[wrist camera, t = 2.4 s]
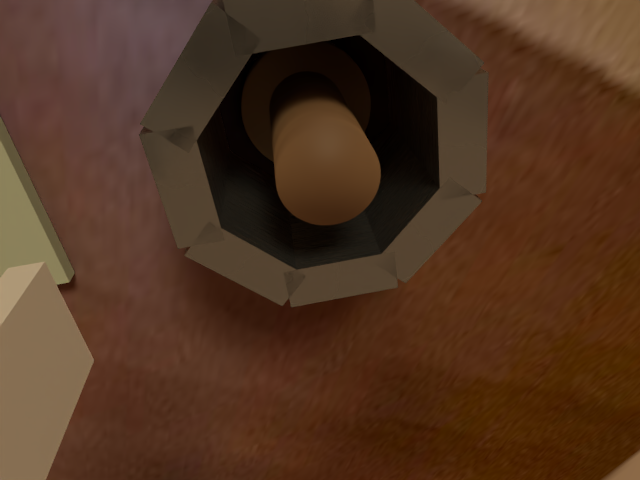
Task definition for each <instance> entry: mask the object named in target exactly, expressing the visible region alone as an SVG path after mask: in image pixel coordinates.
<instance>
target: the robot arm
mask: <svg viewBox="0 0 640 480" xmlns="http://www.w3.org/2000/svg"><path fill="white" fill-rule="evenodd" d="M93 362H94V359H93V357H92V355H91V353H90V351H89V349H88V347H87V345H86V343H85V341H84V339H83V337H82V335H81V333H80V331H79V329H78V327H77V325H76V323H75V321H74V319H73V317H72V315H71V313H70V311H69V309H68V307H67V305H66V303H65V301H64V299H63V297H62V295H61V293H60V291H59V289H58V287H57V285H56V283H55V281H54V279H53V277H52V275H51V273H50V271H49V269H48V267H47V265H46V263H45V262H39V263H33V264H28V265H22V266H17V267H11V268H8V269H7V270H6V271H5V272H4V274H3V275H2V276H1V277H0V480H46V478H47V475H48V473H49V470H50V468H51V465H52V463H53V460H54V458H55V455H56V453H57V450H58V448H59V446H60V443H61V441H62V438H63V436H64V433H65V431H66V428H67V426H68V423H69V421H70V418H71V416H72V413H73V411H74V409H75V406H76V404H77V401H78V399H79V396H80V394H81V391H82V389H83V386H84V384H85V381H86V379H87V376H88V374H89V372H90V369H91V367H92V364H93Z"/></svg>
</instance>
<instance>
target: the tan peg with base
mask: <svg viewBox="0 0 640 480" xmlns="http://www.w3.org/2000/svg"><path fill="white" fill-rule="evenodd" d="M241 111H242V119H243V123H244V126H245V130H246V132H247V134H248V136H249V138H250V140H251V141H252V143H253V144H254V145H255V147H256V148H257V149H258V150H259V151H260V152H261V153H262V154H263V155H264V156H265V157H267V158H268V159H269V160H271V161H273V162H274V169H275V180H276V188H277V192H278V195H279V197H280V199H281V201H282V203H283V204H284V206H285V207H286V208H287V209H288V210H289V211H290V212H291V213H292V214H293V215H294V216H296V217H297V218H299V219H301V220H303V221H305V222H308V223H311V224H315V225H335V224H339V223H343V222H346V221H348V220H350V219H352V218H354V217H356V216H357V215H359V214H360V213H361V212H363V211H364V210H365V209H366V208H367V207H368V206H369V204H370V203H371V202H372V200H373V199H374V197H375V195H376V193H377V190H378V188H379V184H380V177H381V169H380V163H379V160H378V157H377V155H376V153H375V151H374V149H373V147H372V146H371V144H370V142H369V140H368V139H367V137H366V135H365V133H364V132H365V130H366V128H367V125H368V122H369V118H370V111H371V97H370V91H369V87H368V84H367V81H366V79H365V77H364V75H363V73H362V71H361V70H360V68H359V67H358V65H357V64H356V63H355V62H354V61H353V59H352V58H351V57H350V56H349V55H348V54H347V53H346V52H345V51H344V50H343V49H341V48H340V47H338V46H337V45H335V44H333V43H331V42H329V41H322V42H316V43H310V44H305V45H299V46H293V47H288V48H282V49H276V50H270V51H265V52H263V53H262V54H261V55H260V56H259V57H258V58H257V60H256V61H255V62H254V64H253V65H252V67H251V68H250V70H249V72H248V74H247V76H246V79H245V82H244V86H243V91H242V102H241Z"/></svg>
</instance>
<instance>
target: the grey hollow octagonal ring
mask: <svg viewBox="0 0 640 480" xmlns="http://www.w3.org/2000/svg"><path fill="white" fill-rule="evenodd" d="M356 35H360V36H362V37H363V38H364V39H365V40H366V41H368V42H369V43H370V44H371V45H373V46H374V47H375V48H376V49H378V50H379V51H380V52H381V53H383V54H384V55H385V68H386V81H387V93H388V106H389V119H390V122H389V123H388V125H387V126H386V127H385V128H384V130H383V131H382V132H381V133H380V135H379V136H378V137H377V138H376V140H375V141H374V142H373V143H372V145H371V146H372V147H373V149H374V151H375V153H376V155H377V157H378V160H379V163H380V169H381V177H380V184H379V188H378V190H377V193H376V195H375V197H374V199H373V200H372V202H371V203H370V204H369V206H368V207H367V208H366V209H365V210H364V211H363V212H361V213H360V214H359V215H357V216H356V217H354V218H352V219H350V220H348V221H346V222H343V223H339V224H335V225H315V224H311V223H308V222H305V221H303V220H301V219H299V218H297V217H296V216H294V215H293V214H292V213H291V212H290V211H289V210H288V209H287V208H286V207H285V206H284V204H283V203H282V201H281V199H280V197H279V195H278V192H277V188H276V180H275V178H274V177H272V176H271V175H269V174H267V173H266V172H264V171H263V170H261V169H259V168H258V167H256V166H255V165H253V164H251V163H250V162H248V161H246V160H245V159H243V158H242V157H240V156H238V155H237V154H235V153H234V152H232V151H230V148H229V144H228V140H227V136H226V132H225V128H224V124H223V120H222V116H221V112H220V108H219V105H220V103H221V102H222V100H223V98H224V97H225V95H226V94H227V92H228V91H229V89H230V88H231V86H232V84H233V83H234V81H235V80H236V78H237V77H238V75H239V74H240V72H241V70H242V69H243V67H244V66H245V64H246V63H247V61H248V59H249V58H250V56H251V55H252V54H253V53H259V52H265V51H270V50H276V49H282V48H288V47H293V46H299V45H305V44H310V43H316V42H322V41H327V40H333V39H339V38H344V37H350V36H356ZM483 64H484V62H483V61H482V60H481V59H480V58H478V57H477V56H476V55H475V54H474V53H473V52H472V51H471V50H469V49H468V48H467V47H466V46H465V45H464V44H463V43H461V42H460V41H459V40H458V39H457V38H456V37H455V36H454V35H452V34H451V33H450V32H449V31H448V30H447V29H446V28H445V27H443V26H442V25H441V24H440V23H439V22H438V21H437V20H436V19H434V18H433V17H432V16H431V15H430V14H429V13H428V12H426V11H425V10H424V9H423V8H422V7H421V6H420V5H419V4H417V3H416V2H415V1H414V0H213V1H212V2H211V4H210V6H209V7H208V9H207V11H206V12H205V14H204V16H203V17H202V19H201V21H200V23H199V24H198V26H197V28H196V29H195V31H194V33H193V35H192V36H191V38H190V40H189V41H188V43H187V45H186V46H185V48H184V50H183V52H182V53H181V55H180V57H179V58H178V60H177V62H176V64H175V65H174V67H173V69H172V70H171V72H170V74H169V75H168V77H167V79H166V81H165V82H164V84H163V86H162V87H161V89H160V91H159V93H158V94H157V96H156V98H155V99H154V101H153V103H152V104H151V106H150V108H149V110H148V111H147V113H146V115H145V116H144V118H143V120H142V121H141V123H140V124H141V125H143V126H144V127H143V129H142V131H141V132H140V134H139V136H140V139H141V142H142V145H143V148H144V151H145V153H146V156H147V159H148V162H149V165H150V168H151V171H152V174H153V177H154V180H155V183H156V186H157V189H158V192H159V195H160V198H161V201H162V203H163V206H164V209H165V212H166V215H167V218H168V221H169V224H170V227H171V230H172V233H173V236H174V239H175V242H176V245H177V248H178V249H180V248H185V247H186V250H185V255H184V256H186V257H188V258H189V259H191V260H193V261H195V262H197V263H199V264H201V265H203V266H205V267H207V268H209V269H211V270H213V271H215V272H217V273H219V274H221V275H223V276H225V277H226V278H228V279H230V280H232V281H234V282H236V283H238V284H240V285H242V286H244V287H246V288H248V289H250V290H252V291H254V292H256V293H258V294H260V295H261V296H263V297H265V298H267V299H269V300H271V301H273V302H275V303H277V304H279V305H281V306H283V305H284V303H285V302H286V301H287V300H288V299H289V300H290V305H291V307H296V306H301V305H306V304H312V303H317V302H323V301H328V300H333V299H339V298H344V297H349V296H355V295H360V294H365V293H371V292H376V291H382V290H387V289H392V288H398V283H397V278H398V279H400V280H401V281H403V282H405V283H406V282H407V281H408V280H409V279H410V278H411V277H412V276H413V275H414V274H415V273H416V272H417V271H418V270H419V268H420V267H421V266H422V265H423V264H424V263H425V262H426V261H427V260H428V259H429V258H430V257H431V256H432V254H433V253H434V252H435V251H436V250H437V249H438V248H439V247H440V246H441V245H442V244H443V243H444V242H445V240H446V239H447V238H448V237H449V236H450V235H451V234H452V233H453V232H454V231H455V230H456V229H457V228H458V227H459V225H460V224H461V223H462V222H463V221H464V220H465V219H466V218H467V217H468V216H469V215H470V214H471V213H472V211H473V210H474V209H475V208H476V207H477V206H478V205H479V204H480V203H481V202H482V201H481V199H480V198H479V197H478V196H477V195H476V194H480V193H486V162H487V114H488V72H487V71H485V70H483V69H481V68H480V67H481V66H482V65H483Z"/></svg>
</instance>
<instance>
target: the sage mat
mask: <svg viewBox="0 0 640 480" xmlns="http://www.w3.org/2000/svg"><path fill="white" fill-rule="evenodd" d="M39 262H45V263H46V265H47V267H48V269H49V271H50V273H51V275H52V277H53V279H54V281H55V283H56V285H58V284H63V283H69V282H70V281H71V279H72V277H73V275H74V273H75V272H74V270H73V268H72V266H71V264H70V262H69V260H68V257H67V255H66V253H65V251H64V249H63V247H62V245H61V243H60V241H59V238H58V236H57V234H56V232H55V230H54V228H53V226H52V224H51V222H50V219H49V217H48V215H47V213H46V211H45V209H44V207H43V205H42V203H41V200H40V198H39V196H38V194H37V192H36V190H35V188H34V186H33V184H32V182H31V179H30V177H29V175H28V173H27V171H26V169H25V167H24V165H23V163H22V160H21V158H20V156H19V154H18V152H17V150H16V148H15V146H14V144H13V141H12V139H11V137H10V135H9V133H8V131H7V129H6V127H5V125H4V123H3V120H2V118H1V116H0V277H1V276H2V275H3V274H4V272H5V271H6V270H7V269H8V268H11V267H17V266H22V265H28V264H33V263H39Z"/></svg>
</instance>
